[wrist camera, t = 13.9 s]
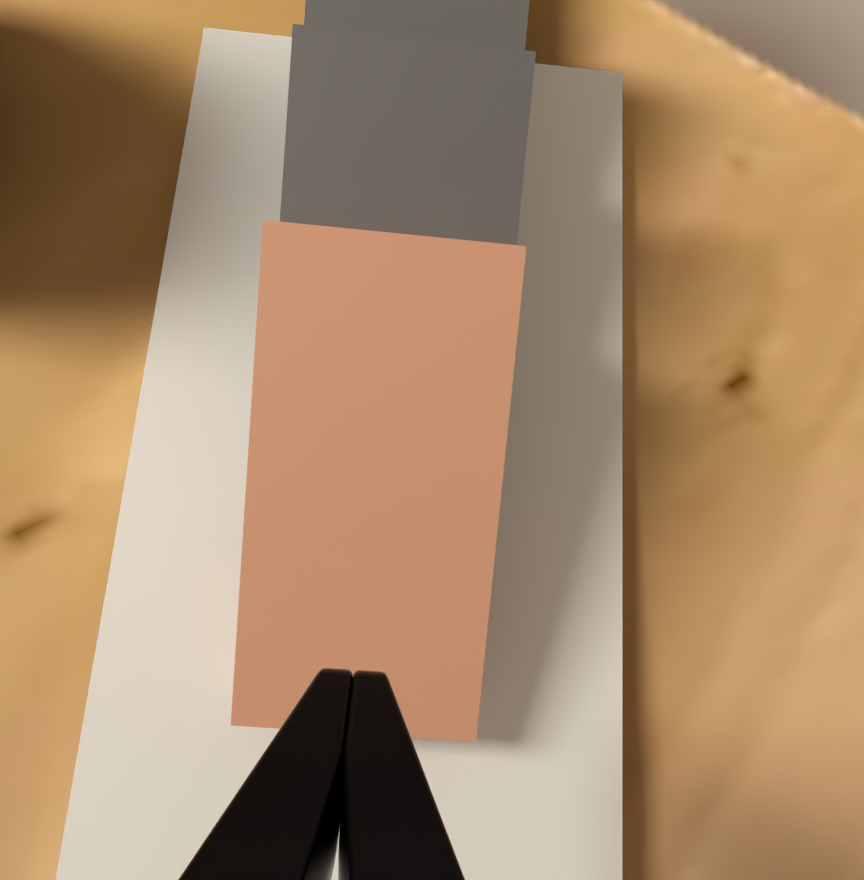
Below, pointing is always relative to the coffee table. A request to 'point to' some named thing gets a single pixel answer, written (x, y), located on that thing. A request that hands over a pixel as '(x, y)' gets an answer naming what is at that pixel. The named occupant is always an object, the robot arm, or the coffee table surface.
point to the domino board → (223, 502)
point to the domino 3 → (375, 468)
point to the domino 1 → (428, 19)
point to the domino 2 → (406, 135)
